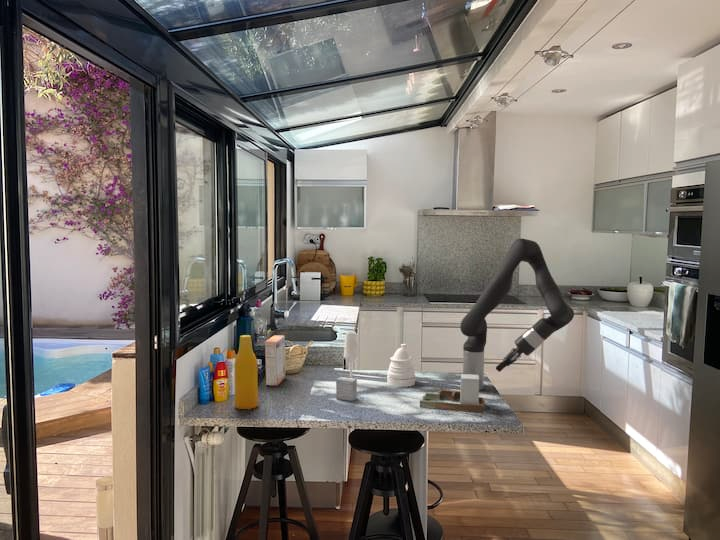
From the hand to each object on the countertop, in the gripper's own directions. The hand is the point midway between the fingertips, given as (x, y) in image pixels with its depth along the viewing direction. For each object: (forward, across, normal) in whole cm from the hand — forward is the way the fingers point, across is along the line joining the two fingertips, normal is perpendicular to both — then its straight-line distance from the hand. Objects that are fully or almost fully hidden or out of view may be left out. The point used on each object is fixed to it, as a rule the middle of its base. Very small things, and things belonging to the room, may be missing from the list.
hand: (497, 369), depth 221 cm
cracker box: (+83, +9, +62) cm, 104 cm away
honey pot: (+43, +25, +21) cm, 54 cm away
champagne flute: (+58, +16, +37) cm, 71 cm away
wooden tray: (+24, +3, +1) cm, 24 cm away
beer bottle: (+80, -27, +58) cm, 102 cm away
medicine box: (+55, -5, +33) cm, 64 cm away
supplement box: (+19, 0, -4) cm, 20 cm away
